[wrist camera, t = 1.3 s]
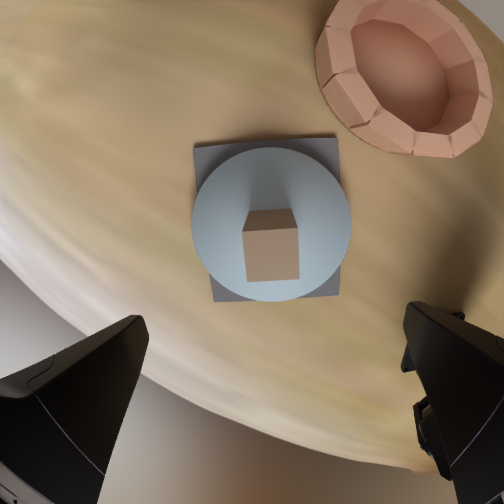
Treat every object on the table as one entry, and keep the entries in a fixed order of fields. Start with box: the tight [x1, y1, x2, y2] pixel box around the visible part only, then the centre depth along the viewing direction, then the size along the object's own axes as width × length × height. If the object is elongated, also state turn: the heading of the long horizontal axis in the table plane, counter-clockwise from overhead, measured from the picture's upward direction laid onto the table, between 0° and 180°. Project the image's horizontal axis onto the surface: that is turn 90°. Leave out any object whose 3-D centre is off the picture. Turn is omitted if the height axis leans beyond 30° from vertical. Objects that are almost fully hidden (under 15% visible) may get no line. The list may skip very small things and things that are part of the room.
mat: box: [193, 138, 340, 302], centre depth 20 cm, size 12×10×1 cm
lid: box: [191, 147, 351, 302], centre depth 17 cm, size 11×11×6 cm
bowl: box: [315, 0, 493, 158], centre depth 13 cm, size 12×12×5 cm
